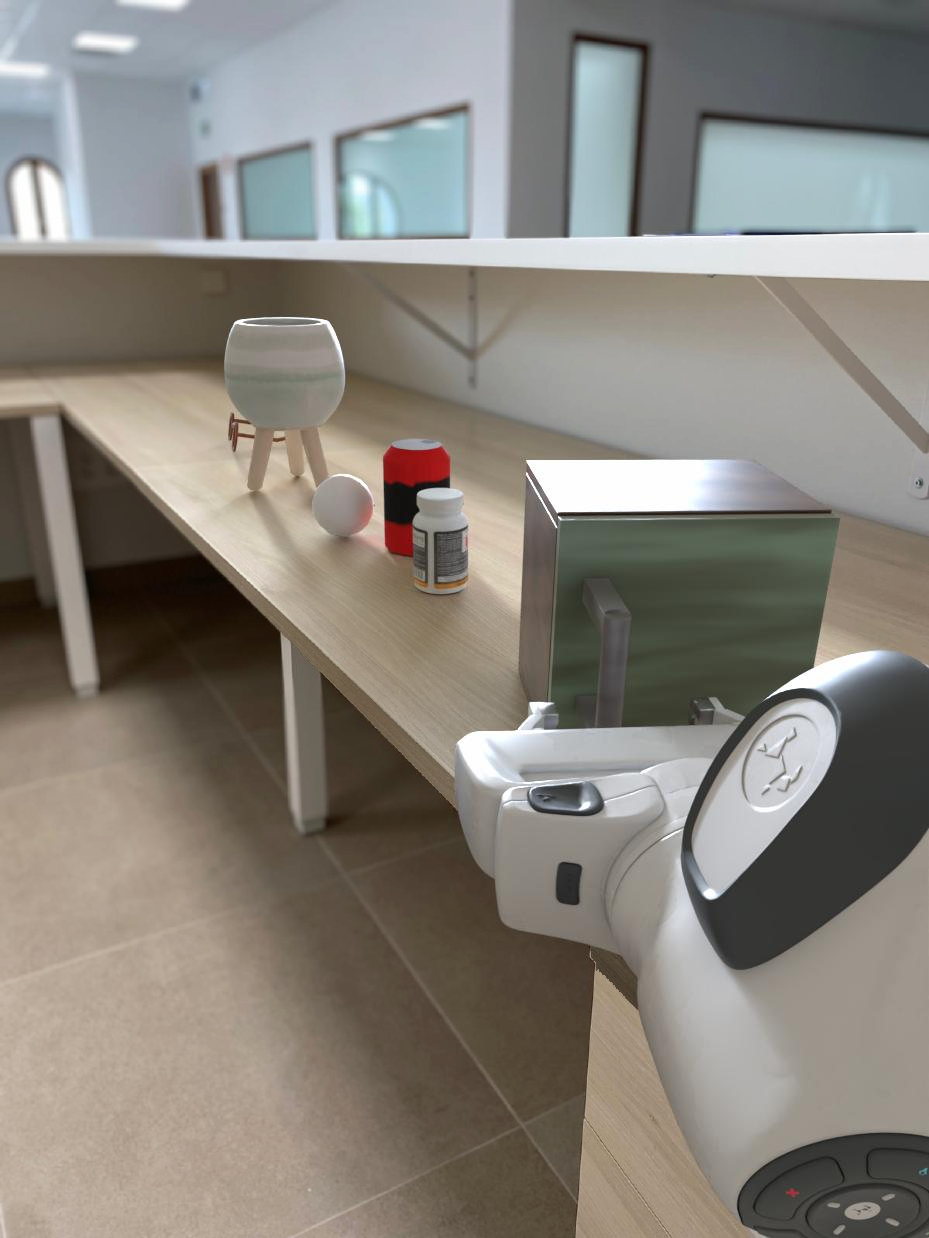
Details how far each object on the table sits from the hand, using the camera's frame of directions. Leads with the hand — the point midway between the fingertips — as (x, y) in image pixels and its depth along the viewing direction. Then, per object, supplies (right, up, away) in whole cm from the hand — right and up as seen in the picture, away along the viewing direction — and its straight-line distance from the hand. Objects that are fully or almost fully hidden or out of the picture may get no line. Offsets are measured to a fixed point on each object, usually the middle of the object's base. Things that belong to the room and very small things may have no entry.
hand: (621, 710), depth 54 cm
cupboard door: (+6, -6, +9) cm, 12 cm away
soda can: (-15, +14, +55) cm, 58 cm away
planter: (-34, +24, +79) cm, 89 cm away
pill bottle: (-12, +9, +43) cm, 45 cm away
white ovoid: (-24, +16, +59) cm, 66 cm away
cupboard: (+5, -2, +19) cm, 20 cm away
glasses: (-42, +34, +102) cm, 116 cm away
